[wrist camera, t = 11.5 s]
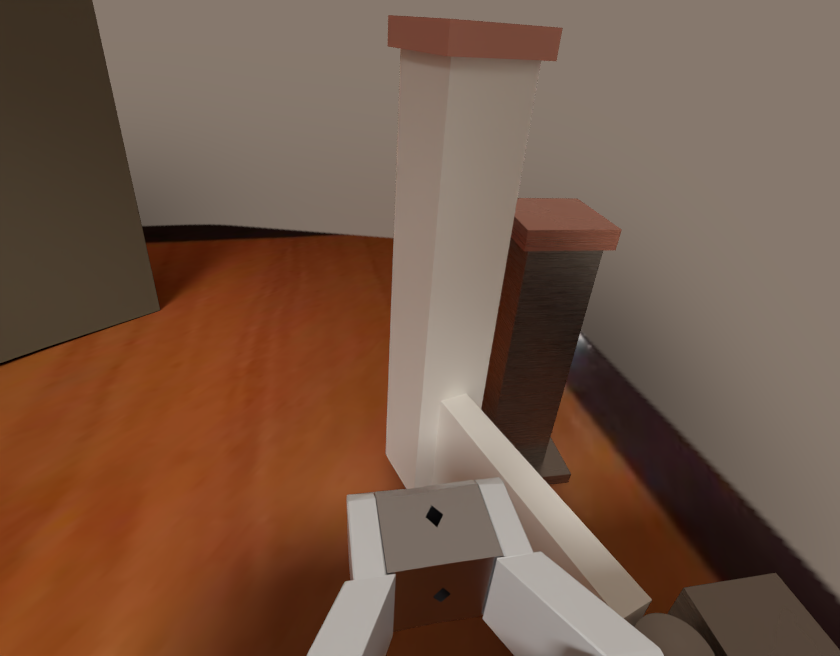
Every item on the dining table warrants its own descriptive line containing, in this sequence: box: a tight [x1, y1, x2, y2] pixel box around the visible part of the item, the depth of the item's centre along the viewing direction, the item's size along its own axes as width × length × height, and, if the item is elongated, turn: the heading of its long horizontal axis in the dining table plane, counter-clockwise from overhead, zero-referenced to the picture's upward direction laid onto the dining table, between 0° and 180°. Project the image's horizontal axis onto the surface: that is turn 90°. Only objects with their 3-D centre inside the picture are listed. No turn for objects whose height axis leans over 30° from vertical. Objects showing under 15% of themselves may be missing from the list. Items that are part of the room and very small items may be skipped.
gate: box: [386, 15, 715, 656], centre depth 15 cm, size 15×4×18 cm, turn 28°
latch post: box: [481, 198, 621, 485], centre depth 22 cm, size 5×5×13 cm
